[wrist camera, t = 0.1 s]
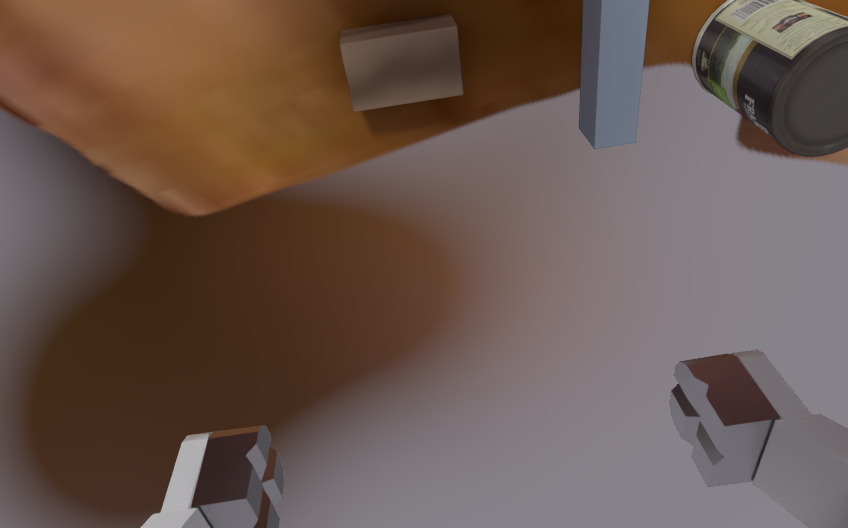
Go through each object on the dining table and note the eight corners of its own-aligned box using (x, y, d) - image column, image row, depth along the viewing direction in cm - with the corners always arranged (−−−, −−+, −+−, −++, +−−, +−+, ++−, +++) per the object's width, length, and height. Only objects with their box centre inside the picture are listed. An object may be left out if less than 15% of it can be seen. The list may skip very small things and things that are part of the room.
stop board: (586, -98, 48) (606, -92, 44) (634, -106, 48) (658, -100, 44) (578, 128, 60) (594, 148, 56) (617, 122, 60) (635, 142, 56)
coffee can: (733, 115, 61) (818, 179, 50) (669, 58, 57) (746, 114, 46) (820, 30, 57) (935, 78, 45) (757, -38, 52) (867, -4, 41)
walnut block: (341, 30, 53) (339, 44, 49) (450, 12, 53) (457, 25, 49) (354, 94, 57) (353, 111, 53) (456, 78, 57) (463, 94, 53)
